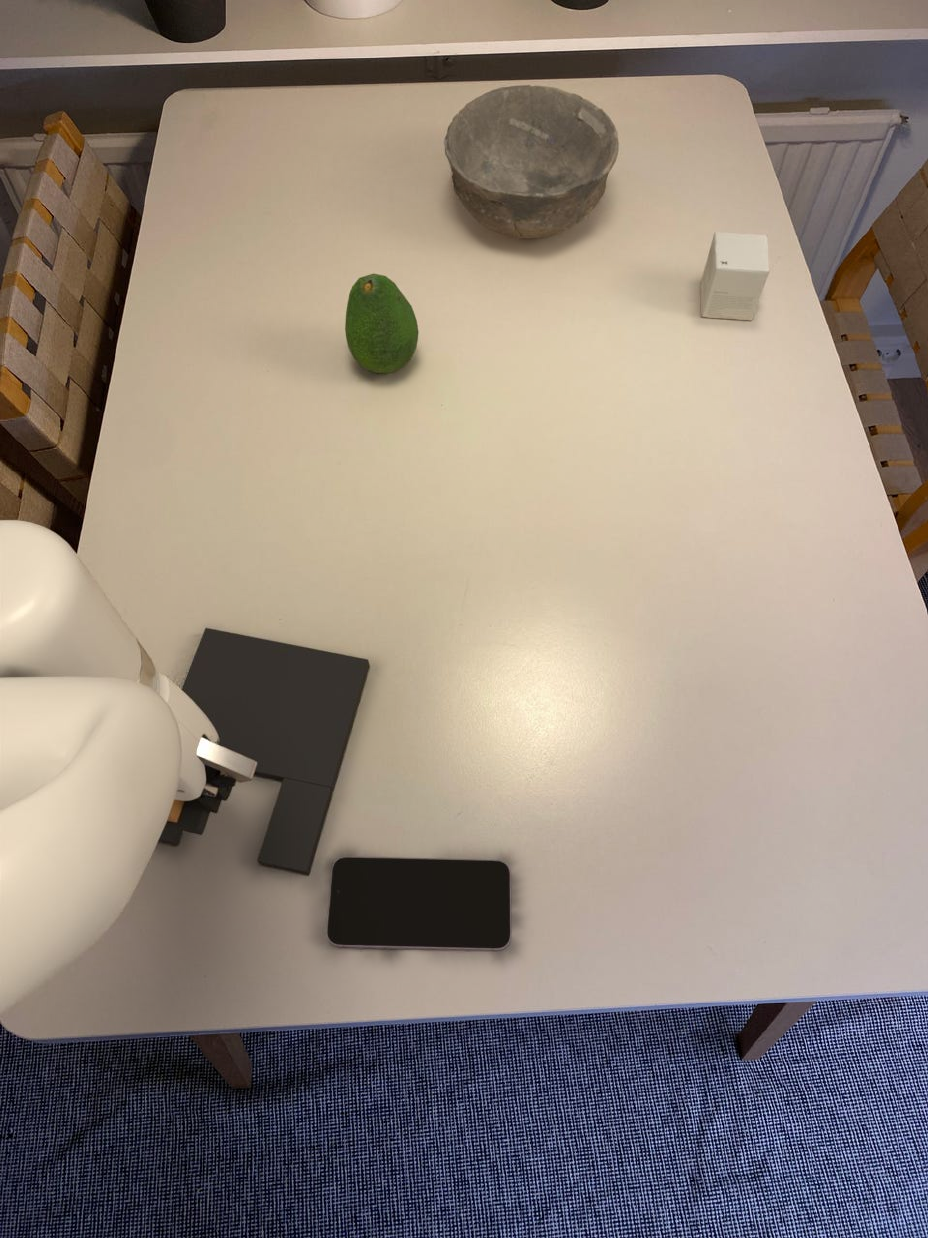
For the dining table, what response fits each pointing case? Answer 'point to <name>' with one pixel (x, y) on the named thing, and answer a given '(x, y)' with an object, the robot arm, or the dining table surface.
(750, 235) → the product box
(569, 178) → the bowl
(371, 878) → the smartphone
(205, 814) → the pad piece
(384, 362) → the fruit
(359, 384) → the dining table surface
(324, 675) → the mat
